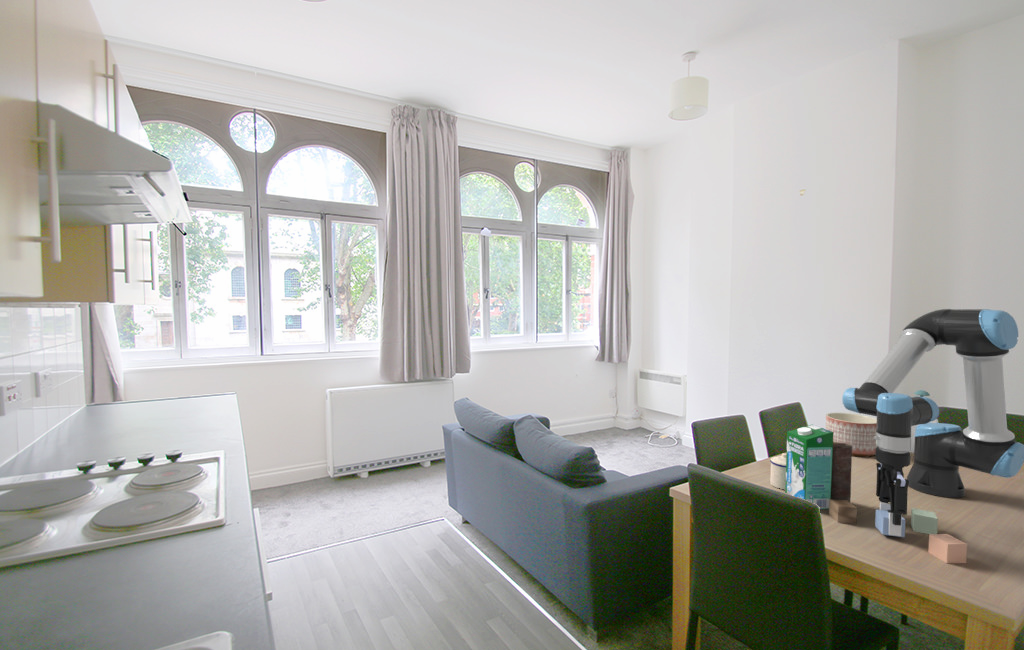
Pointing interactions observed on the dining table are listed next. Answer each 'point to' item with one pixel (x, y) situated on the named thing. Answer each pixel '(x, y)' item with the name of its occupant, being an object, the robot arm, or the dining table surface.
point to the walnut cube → (842, 511)
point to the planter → (853, 431)
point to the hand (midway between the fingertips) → (889, 529)
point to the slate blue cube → (886, 522)
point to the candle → (841, 471)
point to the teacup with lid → (778, 471)
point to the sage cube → (924, 521)
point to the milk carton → (810, 464)
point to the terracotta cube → (947, 548)
